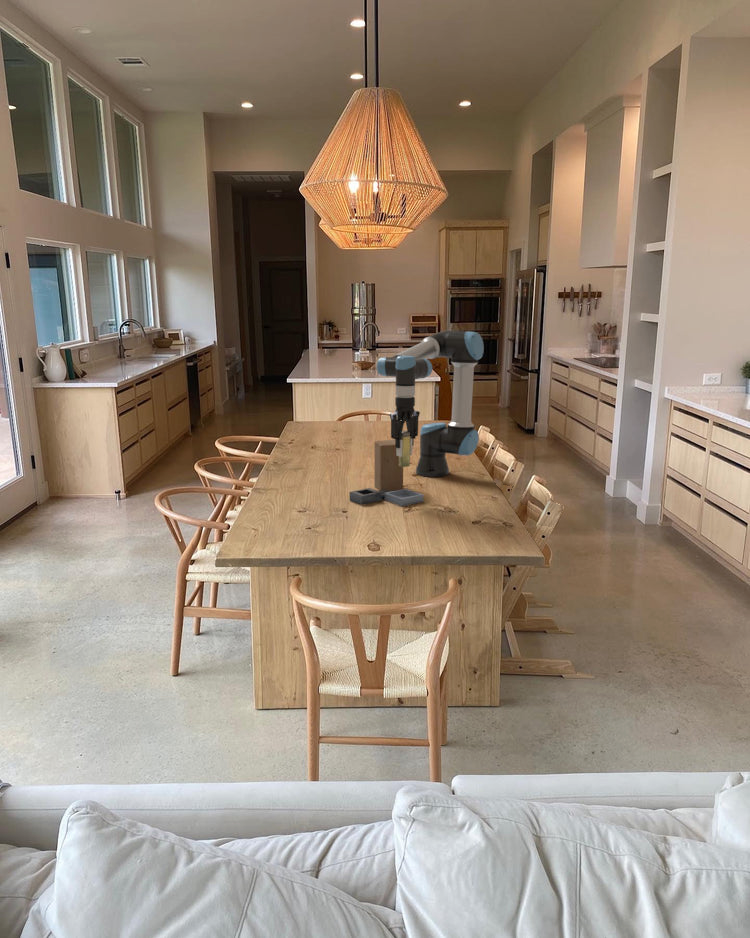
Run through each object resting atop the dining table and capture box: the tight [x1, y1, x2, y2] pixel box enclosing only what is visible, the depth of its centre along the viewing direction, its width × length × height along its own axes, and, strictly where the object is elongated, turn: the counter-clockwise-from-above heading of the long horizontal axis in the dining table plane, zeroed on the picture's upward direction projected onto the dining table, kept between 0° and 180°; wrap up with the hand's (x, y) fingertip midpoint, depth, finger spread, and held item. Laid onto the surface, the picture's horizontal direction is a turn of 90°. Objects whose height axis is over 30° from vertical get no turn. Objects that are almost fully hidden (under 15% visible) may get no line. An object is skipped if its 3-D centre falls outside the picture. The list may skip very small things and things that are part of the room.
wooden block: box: [373, 439, 404, 491], centre depth 310 cm, size 10×10×20 cm
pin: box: [399, 430, 411, 468], centre depth 289 cm, size 4×4×14 cm
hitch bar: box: [349, 487, 392, 506], centre depth 296 cm, size 18×8×4 cm, turn 128°
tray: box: [384, 488, 424, 507], centre depth 293 cm, size 11×11×3 cm
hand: (404, 455), depth 289 cm, fingers closed on pin, 4 cm apart
